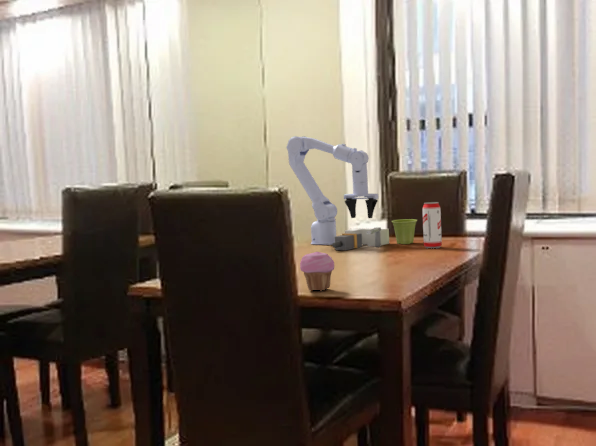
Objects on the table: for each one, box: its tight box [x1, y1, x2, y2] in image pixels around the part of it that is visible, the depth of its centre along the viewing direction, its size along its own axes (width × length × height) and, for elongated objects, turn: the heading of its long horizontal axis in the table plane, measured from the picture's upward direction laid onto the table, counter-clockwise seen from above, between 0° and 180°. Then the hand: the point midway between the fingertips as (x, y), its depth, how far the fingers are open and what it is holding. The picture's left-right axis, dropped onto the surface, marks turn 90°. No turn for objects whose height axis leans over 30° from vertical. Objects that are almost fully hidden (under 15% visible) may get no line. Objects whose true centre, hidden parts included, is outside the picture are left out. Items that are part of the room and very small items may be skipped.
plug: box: [331, 232, 363, 251], centre depth 271 cm, size 6×15×5 cm, turn 143°
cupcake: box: [299, 251, 335, 292], centre depth 190 cm, size 9×9×10 cm
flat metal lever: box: [367, 226, 382, 234], centre depth 268 cm, size 13×3×1 cm, turn 160°
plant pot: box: [391, 218, 418, 245], centre depth 279 cm, size 9×9×9 cm
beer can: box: [422, 201, 443, 250], centre depth 262 cm, size 6×6×16 cm
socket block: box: [344, 227, 390, 248], centre depth 281 cm, size 16×11×6 cm
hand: (361, 218), depth 285 cm, fingers open, 7 cm apart
